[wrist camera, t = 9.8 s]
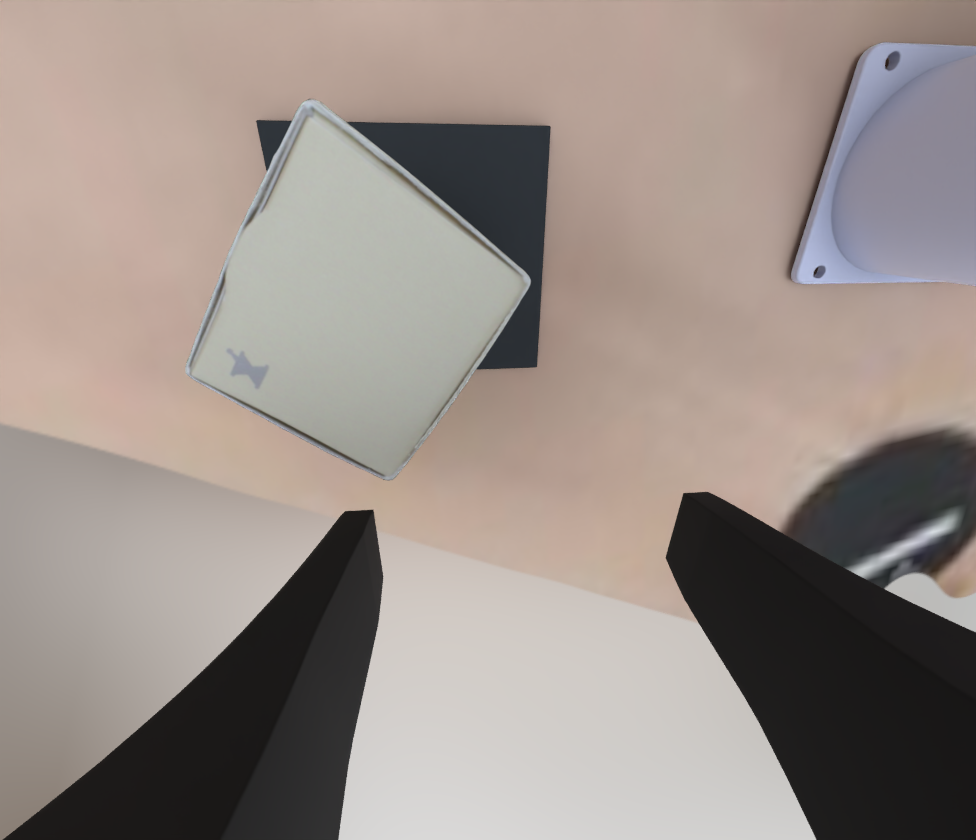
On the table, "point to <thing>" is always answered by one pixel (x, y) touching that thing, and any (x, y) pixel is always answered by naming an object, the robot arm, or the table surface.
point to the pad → (476, 199)
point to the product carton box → (351, 300)
